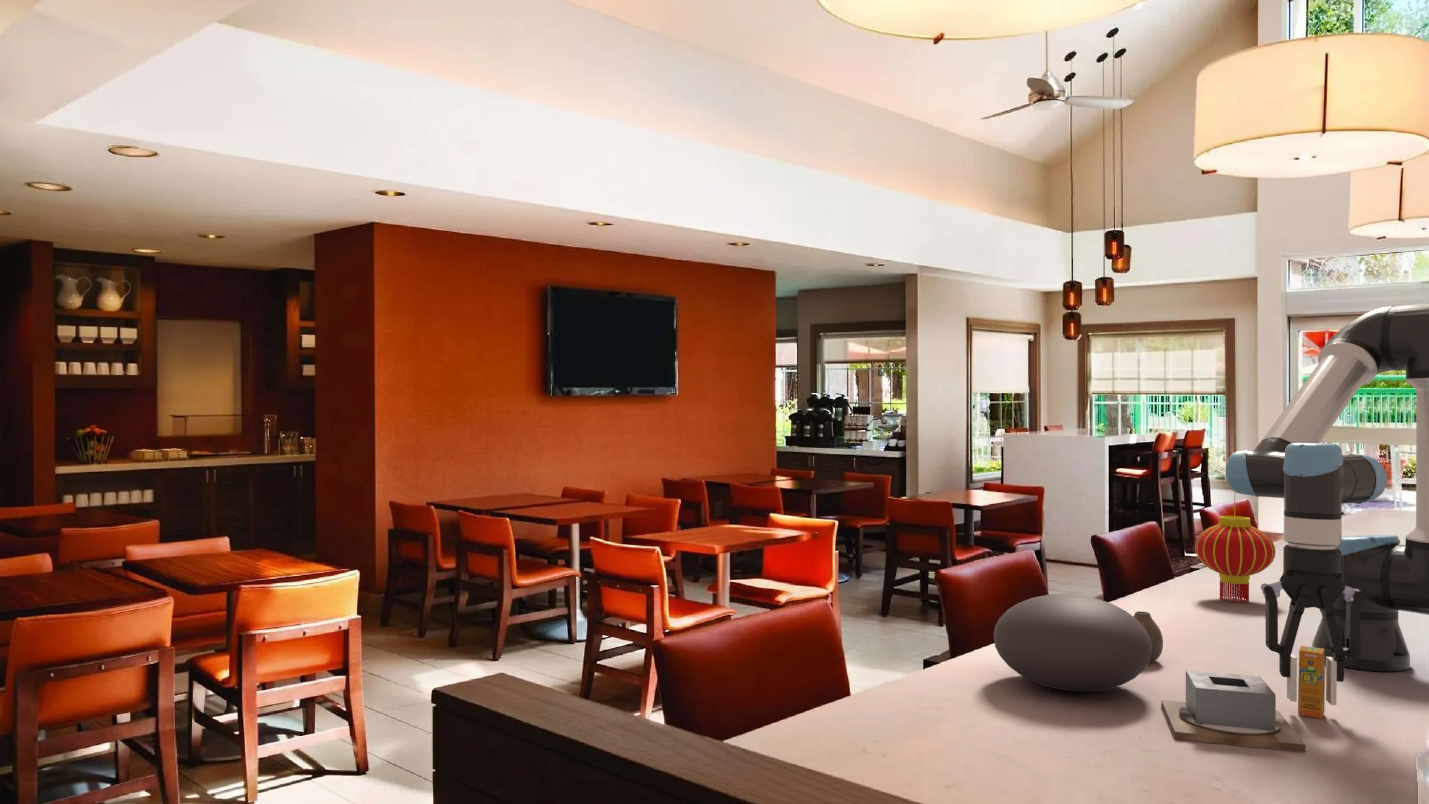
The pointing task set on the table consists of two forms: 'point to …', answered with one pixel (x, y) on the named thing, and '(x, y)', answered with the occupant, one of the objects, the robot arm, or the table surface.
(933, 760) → the table surface
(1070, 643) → the smooth stone
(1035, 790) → the table surface
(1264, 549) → the lantern
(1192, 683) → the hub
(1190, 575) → the table surface
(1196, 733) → the walnut board
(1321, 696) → the supplement box
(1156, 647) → the vase
